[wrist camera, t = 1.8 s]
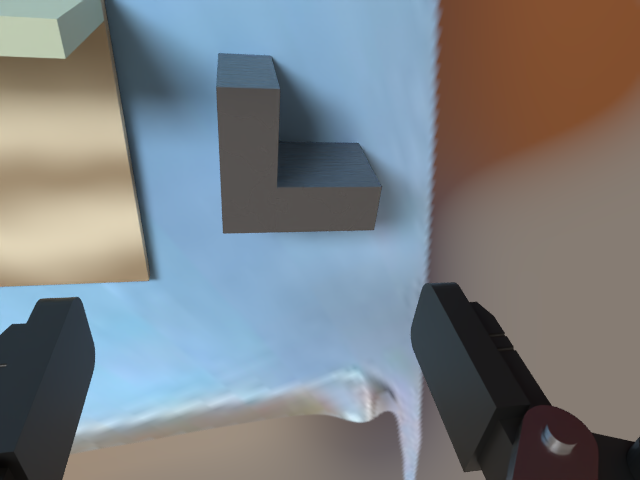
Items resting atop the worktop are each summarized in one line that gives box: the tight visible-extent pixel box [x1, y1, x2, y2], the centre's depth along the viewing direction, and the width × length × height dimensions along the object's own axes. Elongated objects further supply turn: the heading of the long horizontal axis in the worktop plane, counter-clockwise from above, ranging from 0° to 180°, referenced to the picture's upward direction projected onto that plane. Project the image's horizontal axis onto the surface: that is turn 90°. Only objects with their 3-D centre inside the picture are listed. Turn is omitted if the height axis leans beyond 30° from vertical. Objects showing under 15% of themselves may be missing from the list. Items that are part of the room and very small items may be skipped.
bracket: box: [216, 53, 382, 233], centre depth 23 cm, size 7×8×5 cm
